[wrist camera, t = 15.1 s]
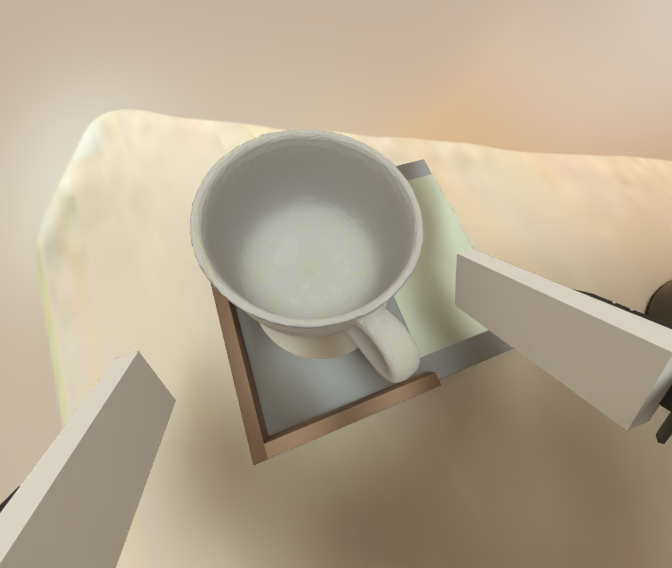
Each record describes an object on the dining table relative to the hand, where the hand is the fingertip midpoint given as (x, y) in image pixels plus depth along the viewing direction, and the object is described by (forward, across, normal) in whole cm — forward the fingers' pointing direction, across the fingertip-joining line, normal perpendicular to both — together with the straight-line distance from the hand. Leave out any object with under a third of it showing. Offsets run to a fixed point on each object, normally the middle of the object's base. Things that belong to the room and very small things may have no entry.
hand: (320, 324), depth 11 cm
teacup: (+8, +1, -3) cm, 8 cm away
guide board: (+9, +4, -3) cm, 10 cm away
